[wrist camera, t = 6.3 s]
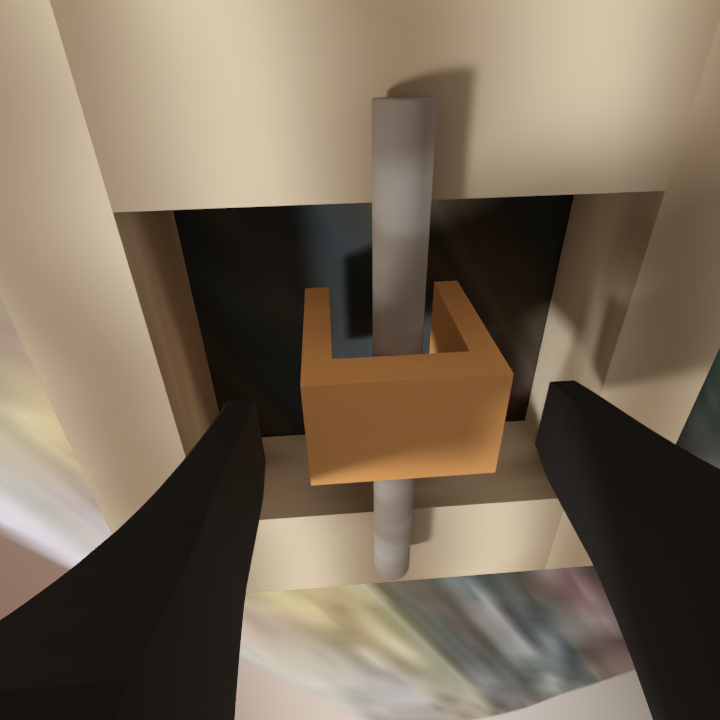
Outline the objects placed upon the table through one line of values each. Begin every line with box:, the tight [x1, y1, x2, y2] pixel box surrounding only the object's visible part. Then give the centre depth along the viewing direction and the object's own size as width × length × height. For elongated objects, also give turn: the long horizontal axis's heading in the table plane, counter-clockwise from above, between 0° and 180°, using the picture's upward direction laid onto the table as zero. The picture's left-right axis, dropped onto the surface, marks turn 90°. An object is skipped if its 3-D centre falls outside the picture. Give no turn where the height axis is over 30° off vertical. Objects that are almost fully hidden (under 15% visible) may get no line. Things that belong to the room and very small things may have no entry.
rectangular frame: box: [0, 0, 720, 593], centre depth 14 cm, size 18×18×5 cm
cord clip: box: [300, 281, 514, 486], centre depth 13 cm, size 5×3×5 cm, turn 91°
